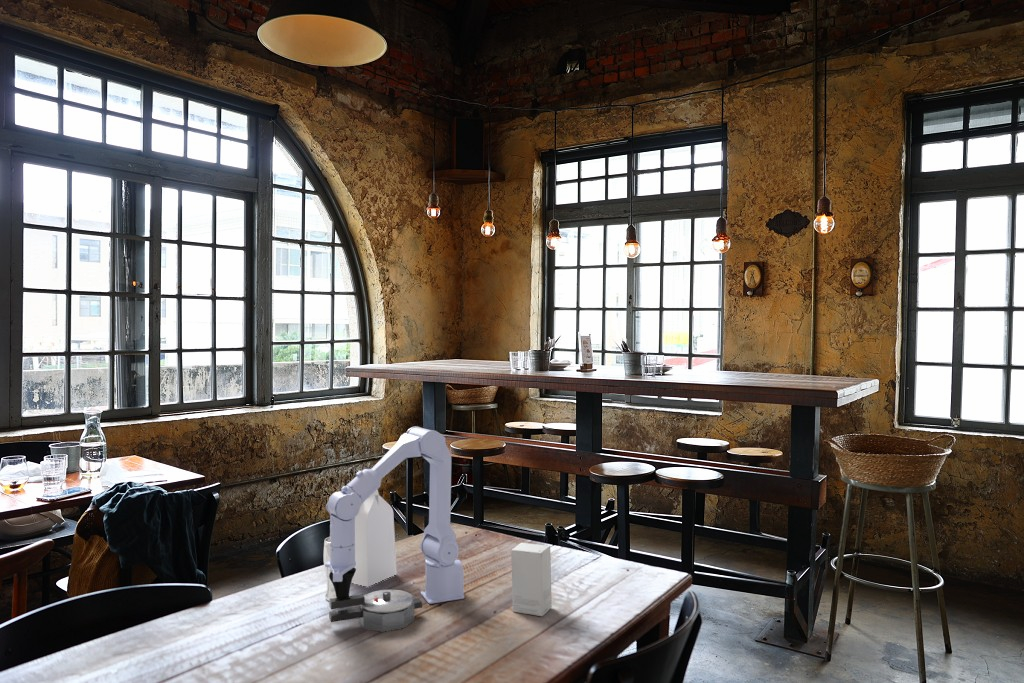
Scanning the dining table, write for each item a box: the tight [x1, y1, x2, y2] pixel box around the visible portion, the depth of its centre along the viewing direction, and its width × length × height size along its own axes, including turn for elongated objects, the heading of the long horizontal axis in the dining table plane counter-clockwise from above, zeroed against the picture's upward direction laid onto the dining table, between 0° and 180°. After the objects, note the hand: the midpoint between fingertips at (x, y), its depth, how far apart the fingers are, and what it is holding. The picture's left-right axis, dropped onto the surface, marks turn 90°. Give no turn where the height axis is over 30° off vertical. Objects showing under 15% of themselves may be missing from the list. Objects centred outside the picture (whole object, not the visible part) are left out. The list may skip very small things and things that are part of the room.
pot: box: [328, 597, 423, 633], centre depth 166 cm, size 21×12×4 cm, turn 114°
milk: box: [351, 489, 398, 588], centre depth 196 cm, size 12×12×26 cm
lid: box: [329, 589, 414, 613], centre depth 166 cm, size 19×12×2 cm, turn 113°
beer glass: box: [323, 536, 351, 602], centre depth 181 cm, size 7×7×15 cm
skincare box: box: [510, 542, 553, 617], centre depth 174 cm, size 8×7×16 cm
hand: (342, 601), depth 166 cm, fingers closed
